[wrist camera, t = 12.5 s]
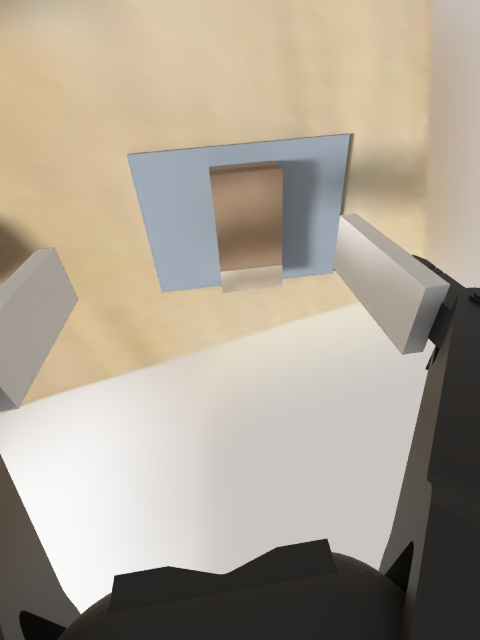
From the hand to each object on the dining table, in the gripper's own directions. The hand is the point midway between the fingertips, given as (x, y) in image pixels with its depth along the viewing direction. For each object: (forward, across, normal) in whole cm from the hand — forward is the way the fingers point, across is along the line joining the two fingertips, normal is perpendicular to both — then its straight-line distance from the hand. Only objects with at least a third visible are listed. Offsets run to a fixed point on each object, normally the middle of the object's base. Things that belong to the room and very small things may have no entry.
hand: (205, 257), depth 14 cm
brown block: (+17, +4, -5) cm, 18 cm away
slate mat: (+18, +4, -5) cm, 19 cm away
